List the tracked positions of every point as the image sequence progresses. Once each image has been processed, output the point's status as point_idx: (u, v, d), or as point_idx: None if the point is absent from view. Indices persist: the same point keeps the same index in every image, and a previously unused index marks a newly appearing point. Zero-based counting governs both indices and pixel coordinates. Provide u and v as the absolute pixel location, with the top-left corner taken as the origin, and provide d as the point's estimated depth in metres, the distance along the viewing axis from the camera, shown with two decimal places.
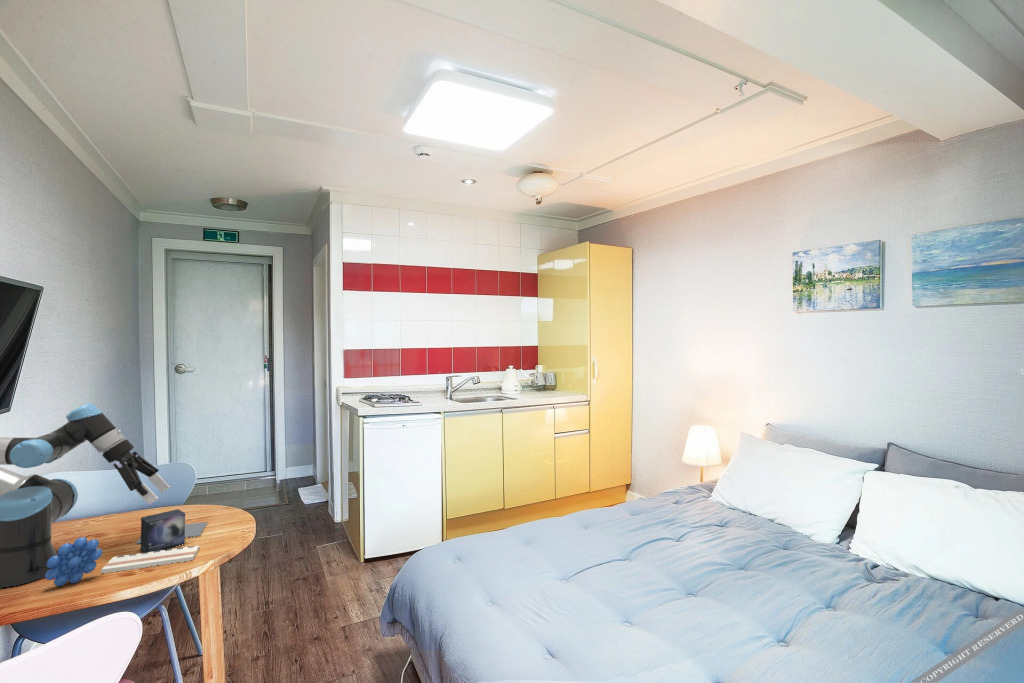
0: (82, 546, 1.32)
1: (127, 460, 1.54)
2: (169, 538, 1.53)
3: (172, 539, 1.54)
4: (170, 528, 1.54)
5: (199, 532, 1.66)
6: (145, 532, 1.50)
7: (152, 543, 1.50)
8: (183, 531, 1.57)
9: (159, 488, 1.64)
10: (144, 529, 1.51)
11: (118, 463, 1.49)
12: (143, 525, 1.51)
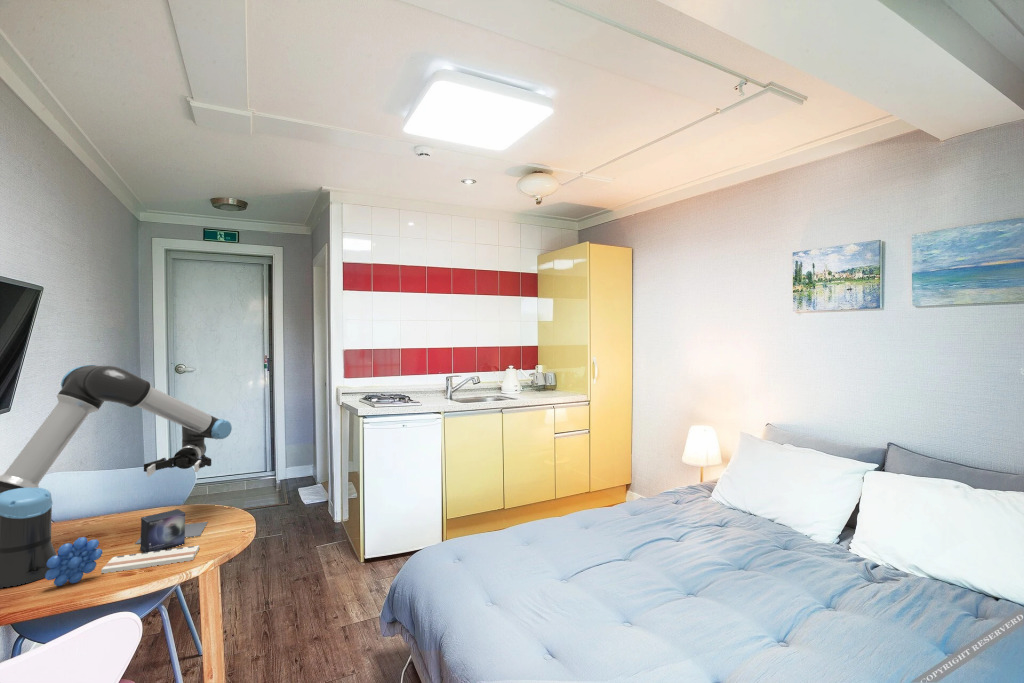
0: (82, 546, 1.32)
1: None
2: (169, 538, 1.53)
3: (172, 539, 1.54)
4: (170, 528, 1.54)
5: (199, 532, 1.66)
6: (145, 532, 1.50)
7: (152, 543, 1.50)
8: (183, 531, 1.57)
9: (151, 468, 1.64)
10: (144, 529, 1.51)
11: None
12: (143, 525, 1.51)
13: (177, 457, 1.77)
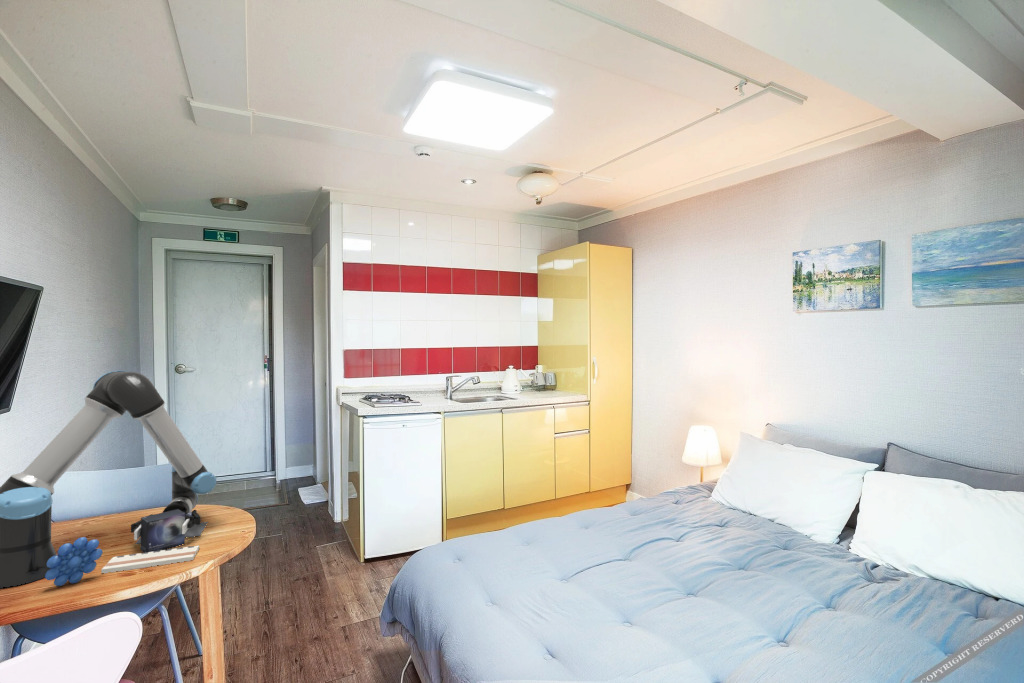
0: (82, 546, 1.32)
1: None
2: (169, 538, 1.53)
3: (172, 539, 1.54)
4: (170, 528, 1.54)
5: (199, 532, 1.66)
6: (145, 532, 1.50)
7: (152, 543, 1.50)
8: None
9: (138, 530, 1.51)
10: (143, 529, 1.51)
11: None
12: (143, 525, 1.51)
13: None
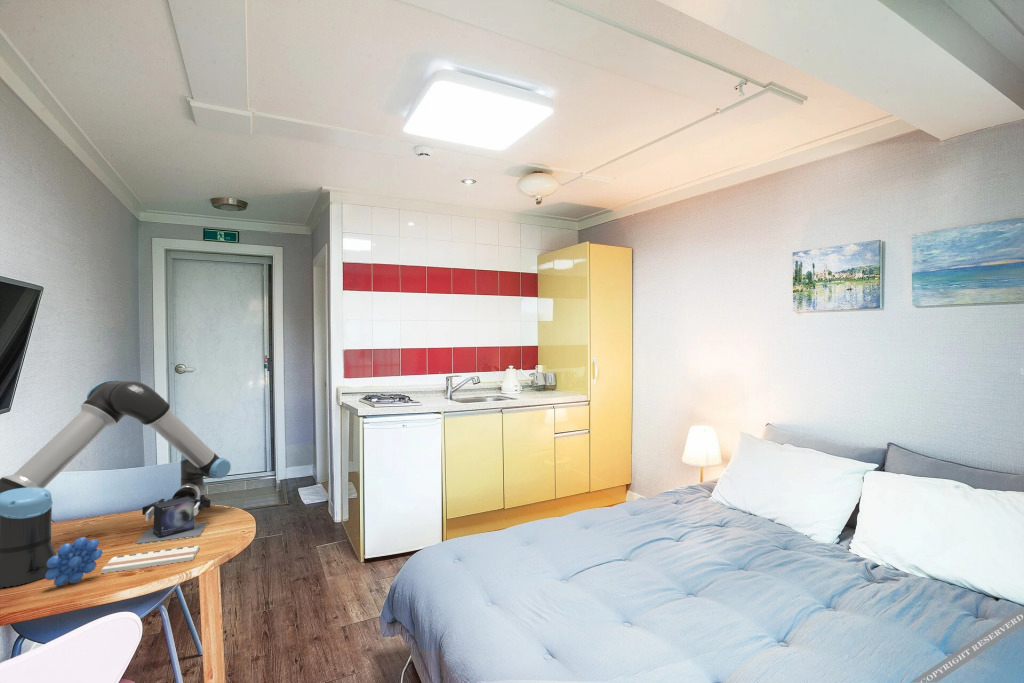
0: (82, 546, 1.32)
1: None
2: (179, 522, 1.66)
3: (183, 523, 1.66)
4: (181, 514, 1.66)
5: (199, 532, 1.66)
6: (158, 517, 1.62)
7: (164, 527, 1.62)
8: (193, 517, 1.69)
9: (149, 512, 1.63)
10: (156, 514, 1.63)
11: None
12: (156, 511, 1.63)
13: (176, 498, 1.76)
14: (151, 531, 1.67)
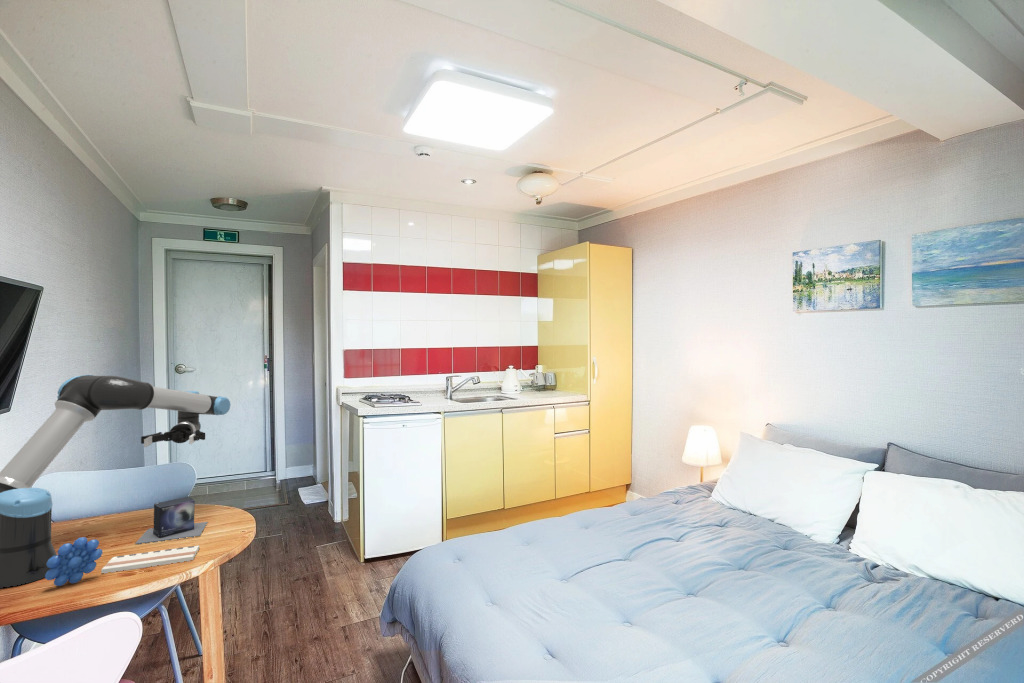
0: (82, 546, 1.32)
1: None
2: (179, 522, 1.66)
3: (183, 523, 1.66)
4: (181, 514, 1.66)
5: (199, 532, 1.66)
6: (158, 517, 1.62)
7: (164, 527, 1.62)
8: (193, 517, 1.69)
9: (148, 439, 1.74)
10: (156, 514, 1.63)
11: None
12: (156, 511, 1.63)
13: (173, 431, 1.87)
14: (151, 531, 1.67)
